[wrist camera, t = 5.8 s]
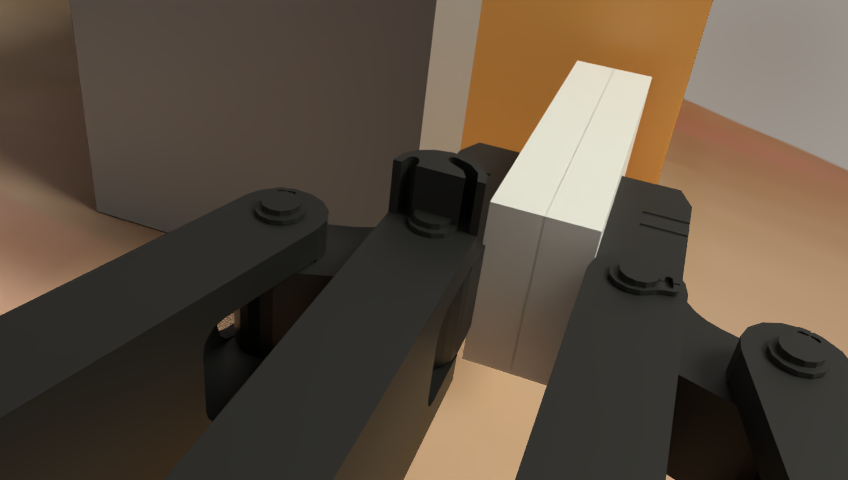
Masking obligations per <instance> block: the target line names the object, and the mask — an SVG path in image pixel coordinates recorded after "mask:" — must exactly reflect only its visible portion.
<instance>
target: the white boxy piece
mask: <svg viewBox="0 0 848 480" xmlns="http://www.w3.org/2000/svg"><path fill="white" fill-rule="evenodd" d="M712 2H713V0H437V3H436V11H435V20H434V28H433V37H432V45H431V54H430V62H429V71H428V79H427V88H426V96H425V105H424V114H423V122H422V131H421V139H420V148H419V150H440V151H447V152H453V153H456V154H457V153H458V152H459V151H460V150H462V149H465V148H467V147H470V146H472V145H474V144H477V143H479V142H480V143H484V144H488V145H492V146H496V147H500V148H504V149H508V150H512V151H516V152H520V153H521V151H522V149H523V148H524V146H525V144H526V143H527V141H528V140H529V138H530V136H531V135H532V133H533V132H534V130H535V128H536V127H537V125H538V123H539V122H540V120H541V119H542V117H543V115H544V114H545V112H546V111H547V109H548V107H549V106H550V104H551V102H552V101H553V99H554V98H555V96H556V94H557V93H558V91H559V90H560V88H561V86H562V85H563V83H564V81H565V80H566V78H567V77H568V75H569V73H570V72H571V70H572V68H573V67H574V65H575V64H576V62H577V61H582V62H586V63H591V64H595V65H600V66H605V67H609V68H614V69H618V70H623V71H627V72H632V73H637V74H641V75H646V76H650V77H652V80H651V83H650V87H649V90H648V94H647V98H646V101H645V105H644V108H643V112H642V116H641V119H640V123H639V126H638V130H637V134H636V137H635V141H634V144H633V148H632V152H631V155H630V159H629V162H628V166H627V170H626V173H625V177H629V178H633V179H637V180H641V181H645V182H649V183H653V184H657V183H658V180H659V176H660V173H661V170H662V167H663V163H664V160H665V157H666V153H667V150H668V147H669V144H670V140H671V137H672V134H673V130H674V127H675V124H676V120H677V117H678V114H679V111H680V107H681V104H682V101H683V97H684V94H685V91H686V88H687V84H688V81H689V78H690V74H691V71H692V68H693V64H694V61H695V58H696V54H697V51H698V48H699V45H700V41H701V38H702V35H703V31H704V28H705V25H706V22H707V18H708V15H709V12H710V8H711V5H712Z"/></svg>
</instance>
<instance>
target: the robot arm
mask: <svg viewBox="0 0 848 480" xmlns="http://www.w3.org/2000/svg"><path fill="white" fill-rule="evenodd" d="M651 80H652V77H650V76H646V75H641V74H637V73H632V72H627V71H623V70H618V69H614V68H609V67H605V66H600V65H595V64H591V63H586V62H582V61H577V62H576V64H575V65H574V67H573V68H572V70H571V72H570V73H569V75H568V77H567V78H566V80H565V81H564V83H563V85H562V86H561V88H560V90H559V91H558V93H557V94H556V96H555V98H554V99H553V101H552V102H551V104H550V106H549V107H548V109H547V111H546V112H545V114H544V115H543V117H542V119H541V120H540V122H539V123H538V125H537V127H536V128H535V130H534V132H533V133H532V135H531V136H530V138H529V140H528V141H527V143H526V144H525V146H524V148H523V149H522V151H521V153H520V152H516V151H512V150H508V149H504V148H500V147H496V146H492V145H488V144H484V143H480V142H479V143H477V144H474V145H472V146H470V147H467V148H465V149H462V150H460V151H459V152H458V153H457V154H456V153H453V152H447V151H440V150H416V151H412V152H407V153H403V154H402V155H400V156H398V157H397V158H395V159H393V168H392V178H391V188H390V198H389V209H388V213H387V214H386V215H385V216H384V217H383V219H382V220H381V221H380V222H379V223H378V225H377V226H376V227H351V226H340V225H329V224H328V217H329V210H328V209H327V207H326V205H325V203H324V202H323V201H322V200H320V199H319V198H317V197H315V196H314V195H312V194H309V193H306V192H303V191H300V190H297V189H293V188H289V189H287V188H284V187H276V188H272V189H262V190H258V191H255V192H252V193H249V194H246V195H244V196H242V197H240V198H238V199H236V200H234V201H232V202H230V203H228V204H226V205H224V206H221V207H219V208H217V209H215V210H213V211H211V212H209V213H207V214H205V215H203V216H201V217H199V218H197V219H195V220H193V221H191V222H189V223H187V224H185V225H183V226H181V227H179V228H177V229H175V230H173V231H171V232H169V233H167V234H165V235H163V236H161V237H159V238H157V239H155V240H153V241H151V242H149V243H147V244H145V245H142V246H140V247H138V248H136V249H134V250H132V251H130V252H128V253H126V254H124V255H122V256H120V257H118V258H116V259H114V260H112V261H110V262H108V263H106V264H104V265H102V266H100V267H98V268H96V269H94V270H92V271H90V272H88V273H86V274H84V275H82V276H80V277H78V278H76V279H74V280H72V281H70V282H68V283H65V284H63V285H61V286H59V287H57V288H55V289H53V290H51V291H49V292H47V293H45V294H43V295H41V296H39V297H37V298H35V299H33V300H31V301H29V302H27V303H25V304H23V305H21V306H19V307H17V308H15V309H13V310H11V311H9V312H7V313H5V314H3V315H1V316H0V480H403V479H404V477H405V475H406V473H407V471H408V469H409V467H410V465H411V463H412V461H413V459H414V457H415V455H416V453H417V451H418V449H419V447H420V445H421V443H422V441H423V439H424V437H425V435H426V433H427V431H428V429H429V427H430V425H431V422H432V420H433V418H434V416H435V414H436V412H437V410H438V408H439V406H440V404H441V402H442V400H443V398H444V396H445V394H446V392H447V390H448V388H449V386H450V384H451V382H452V380H453V374H454V368H455V362H456V356H457V353H458V351H459V349H460V347H461V345H462V343H463V341H464V339H465V337H466V340H465V346H464V351H463V357H462V358H463V359H466V360H469V361H472V362H475V363H478V364H481V365H485V366H488V367H491V368H494V369H497V370H500V371H503V372H507V373H510V374H513V375H516V376H519V377H522V378H525V379H528V380H532V381H535V382H538V383H541V384H544V385H547V387H546V390H545V393H544V396H543V399H542V402H541V405H540V408H539V411H538V414H537V417H536V420H535V423H534V426H533V428H532V431H531V434H530V437H529V440H528V443H527V446H526V449H525V452H524V455H523V458H522V461H521V464H520V467H519V470H518V473H517V476H516V479H515V480H666V474H667V475H668V476H670V477H672V478H673V479H675V480H848V358H847V357H846V356H845V354H844V353H843V352H842V351H841V350H839V349H838V348H836V347H835V346H834V345H832V344H831V343H830V342H828V341H827V340H826V339H824V338H823V337H821V336H819V335H817V334H815V333H811V331H808V330H806V329H803V328H800V327H794V326H791V325H787V324H783V323H760V324H756V325H753V326H750V327H748V328H747V329H746V330H745V331H744V333H743V334H742V335H741V336H740V338H738V337H736V336H734V335H732V334H730V333H728V332H726V331H724V330H722V329H720V328H718V327H717V326H715V325H713V324H711V323H710V322H708V321H706V320H705V319H704V318H703V317H701V316H700V315H699V314H698V313H696V312H695V311H694V310H693V308H692V307H691V306H690V305H689V304H688V303H687V298H688V293H687V289H686V285H685V283H684V282H683V281H682V280H683V272H684V264H685V257H686V249H687V241H688V239H687V238H688V233H689V224H690V218H691V210H692V207H691V205H690V204H689V202H688V201H687V199H686V198H685V196H684V194H683V193H682V191H681V190H677V189H673V188H669V187H665V186H661V185H657V184H653V183H649V182H645V181H641V180H637V179H633V178H629V177H625V173H626V170H627V166H628V162H629V159H630V155H631V152H632V148H633V144H634V141H635V137H636V134H637V130H638V126H639V123H640V119H641V116H642V112H643V108H644V105H645V101H646V98H647V94H648V90H649V87H650V83H651ZM233 312H234V323H233V324H232V325H230V326H229V327H227V328H226V329H224V330H221V331H218V328H217V324H218V323H219V322H220V321H222V320H223V319H224V318H225V317H227V316H228V315H230V314H231V313H233Z"/></svg>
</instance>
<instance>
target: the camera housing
mask: <svg viewBox="0 0 848 480" xmlns="http://www.w3.org/2000/svg"><path fill="white" fill-rule="evenodd" d="M69 1H70V8H71V16H72V24H73V31H74V39H75V47H76V54H77V62H78V70H79V77H80V85H81V93H82V100H83V108H84V116H85V123H86V131H87V139H88V146H89V154H90V162H91V169H92V177H93V184H94V192H95V200H96V207H97V211H98V212H102V213H105V214H108V215H111V216H115V217H118V218H121V219H125V220H128V221H131V222H134V223H138V224H141V225H144V226H147V227H151V228H154V229H157V230H161V231H164V232H167V233H169V232H171V231H173V230H175V229H177V228H179V227H181V226H183V225H185V224H187V223H189V222H191V221H193V220H195V219H197V218H199V217H201V216H203V215H205V214H207V213H209V212H211V211H213V210H215V209H217V208H219V207H221V206H224V205H226V204H228V203H230V202H232V201H234V200H236V199H238V198H240V197H242V196H244V195H246V194H249V193H252V192H255V191H258V190H262V189H272V188H276V187H284V188H287V189H289V188H293V189H297V190H300V191H303V192H306V193H309V194H312V195H314V196H315V197H317V198H319V199H320V200H322V201H323V202H324V203H325V205H326V207H327V209H328V210H329V217H328V224H329V225H340V226H351V227H376V226H377V225H378V223H379V222H380V221H381V220H382V219H383V217H384V216H385V215H386V214H387V213H388V209H389V198H390V188H391V178H392V168H393V159H395V158H397V157H398V156H400V155H402V154H403V153H407V152H412V151H416V150H419V148H420V139H421V131H422V122H423V114H424V105H425V96H426V88H427V79H428V71H429V62H430V54H431V45H432V37H433V28H434V20H435V11H436V3H437V0H69Z"/></svg>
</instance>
